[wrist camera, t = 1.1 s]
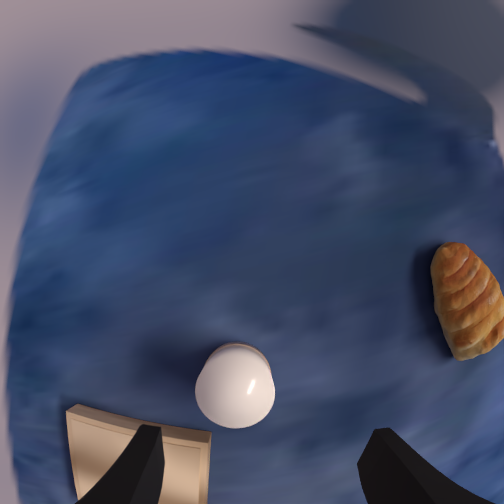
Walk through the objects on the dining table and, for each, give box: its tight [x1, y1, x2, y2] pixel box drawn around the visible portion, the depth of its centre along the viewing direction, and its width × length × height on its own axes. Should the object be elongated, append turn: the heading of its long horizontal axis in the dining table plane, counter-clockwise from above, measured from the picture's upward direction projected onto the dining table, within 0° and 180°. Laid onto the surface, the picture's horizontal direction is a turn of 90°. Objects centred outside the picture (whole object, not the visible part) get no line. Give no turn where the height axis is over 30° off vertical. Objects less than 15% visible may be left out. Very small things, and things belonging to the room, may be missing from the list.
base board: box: [66, 404, 211, 504], centre depth 19 cm, size 11×11×2 cm
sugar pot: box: [195, 342, 275, 428], centre depth 19 cm, size 4×4×5 cm
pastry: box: [430, 242, 504, 361], centre depth 21 cm, size 9×7×4 cm
